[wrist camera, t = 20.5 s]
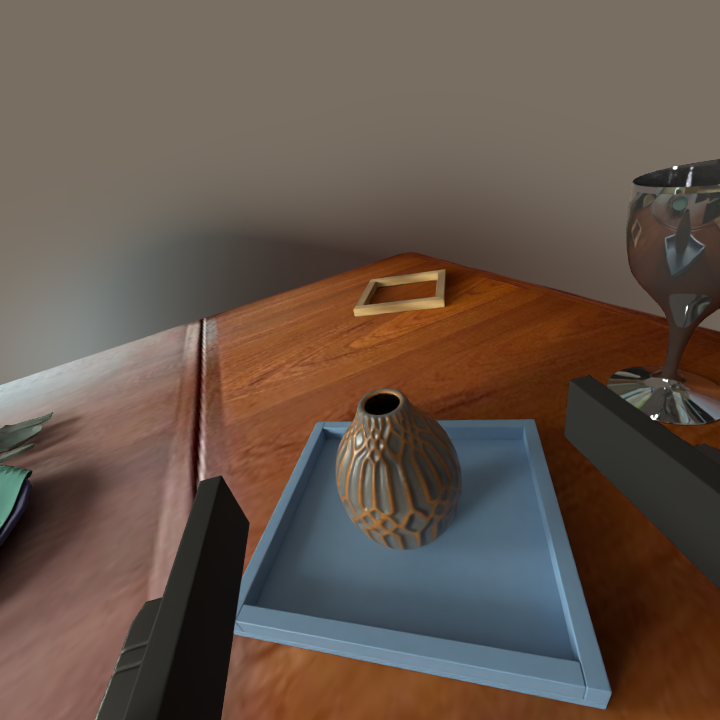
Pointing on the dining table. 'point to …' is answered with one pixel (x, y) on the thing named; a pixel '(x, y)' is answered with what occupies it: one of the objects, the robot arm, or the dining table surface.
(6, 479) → the cutlery set
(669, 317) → the wine glass
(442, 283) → the oak frame
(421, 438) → the vase
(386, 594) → the blue tray
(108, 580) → the dining table surface
